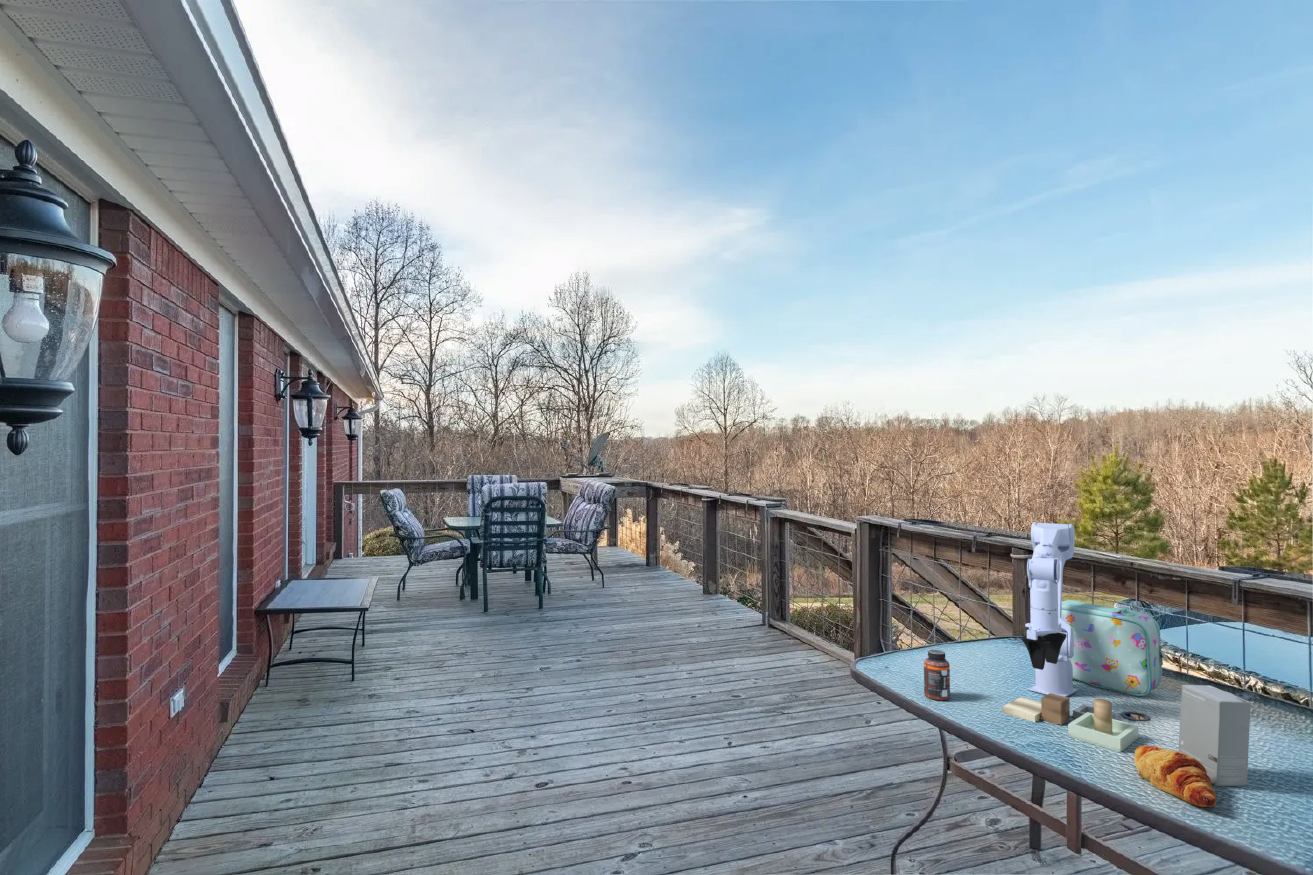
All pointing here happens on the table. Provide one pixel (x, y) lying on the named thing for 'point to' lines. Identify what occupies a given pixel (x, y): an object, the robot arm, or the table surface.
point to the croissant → (1175, 774)
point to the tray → (1117, 741)
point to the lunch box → (1114, 647)
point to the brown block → (1055, 708)
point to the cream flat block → (1024, 709)
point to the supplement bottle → (936, 676)
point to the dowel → (1103, 716)
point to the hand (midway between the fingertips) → (1044, 665)
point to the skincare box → (1216, 732)
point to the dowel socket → (1085, 711)
